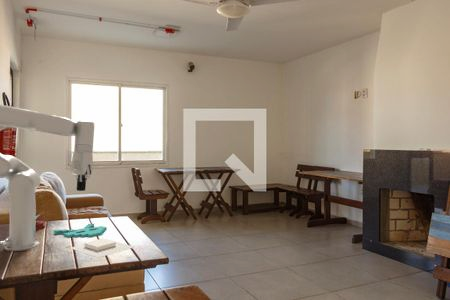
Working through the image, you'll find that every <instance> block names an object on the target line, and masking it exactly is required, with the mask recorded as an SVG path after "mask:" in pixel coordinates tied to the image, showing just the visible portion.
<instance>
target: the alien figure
mask: <svg viewBox="0 0 450 300" xmlns="http://www.w3.org/2000/svg"><path fill="white" fill-rule="evenodd" d="M107 229H108V227H106V226H104V225H103V226H102V225H100V226H95V224H94V223H91V222H90V223H88V224H87V225H86V226H84V227H83V228H79V229H54V230H53V234H54V235H62V236H63V238H73V237H74V238H79V237H80V238H87V237H88V238H93V237H96V236H97V237H99V236H102V235H103V234H105V232H106V231H107Z"/></svg>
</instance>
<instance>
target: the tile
mask: <svg viewBox="0 0 450 300" xmlns="http://www.w3.org/2000/svg"><path fill="white" fill-rule="evenodd" d="M106 239H107V238H99V239H96V240H91V241H88V242H87V241H86V242H84V247H86V248H90V249H93V250H96V251H100V250H103V249H107V248H111V247H114V246H116V242H117V241H115V242H114V240H112V241H110V240H111V239H108V240H106Z"/></svg>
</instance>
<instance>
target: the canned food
mask: <svg viewBox="0 0 450 300" xmlns="http://www.w3.org/2000/svg"><path fill="white" fill-rule="evenodd" d="M43 213H44V211H42V212H41V213H39V214H38V215H36V230H43V229H45V228H46V227H47V226H46V220H42V219H37V218H38V217H40V216H41V215H42V214H43Z"/></svg>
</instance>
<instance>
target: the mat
mask: <svg viewBox="0 0 450 300" xmlns="http://www.w3.org/2000/svg"><path fill="white" fill-rule="evenodd" d="M105 239H106V240H110V241H114V240H111V239H108V238H105ZM114 242H116V246H114V247H111V248H107V249H103V250H100V251H96V250H93V249H90V248H86V247H84V244H80V245H79V244H78V245H75V246H72V247H69V249H71V250H74V251H77V252H80V253H83V254H86V255H89V256H91V257H94V258H98V259H99V258H102V257H105V256H109V255H113V254H116V253H120V252H122V251H126V250H130V249H133V248H135V246H134V245H129V244H127V243H122V242H120V241H119V242H118V241H116V240H115V241H114Z"/></svg>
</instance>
